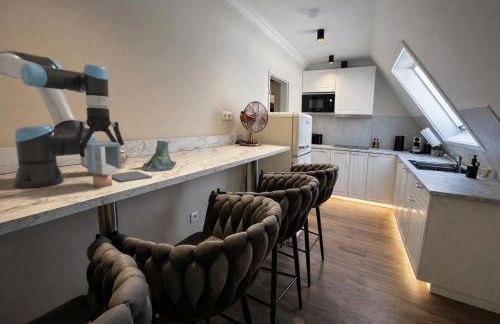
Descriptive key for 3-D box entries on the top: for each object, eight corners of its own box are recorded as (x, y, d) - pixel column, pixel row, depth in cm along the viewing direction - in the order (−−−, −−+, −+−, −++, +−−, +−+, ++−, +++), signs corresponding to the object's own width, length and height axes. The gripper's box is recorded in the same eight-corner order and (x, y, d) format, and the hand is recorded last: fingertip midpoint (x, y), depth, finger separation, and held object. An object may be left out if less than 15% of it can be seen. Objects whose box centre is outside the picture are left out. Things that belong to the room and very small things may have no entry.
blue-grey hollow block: (81, 165, 100) (79, 141, 99) (108, 163, 108) (107, 140, 106) (93, 171, 91) (91, 144, 90) (121, 168, 99) (120, 143, 97)
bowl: (91, 184, 100) (90, 175, 100) (108, 182, 105) (108, 173, 105) (96, 188, 96) (95, 178, 95) (114, 185, 101) (114, 175, 100)
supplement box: (102, 170, 128) (101, 141, 126) (116, 171, 126) (115, 142, 124) (87, 173, 120) (84, 143, 117) (102, 175, 117) (100, 144, 115)
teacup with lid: (114, 169, 132) (113, 147, 130) (103, 167, 135) (102, 146, 134) (133, 166, 142) (132, 146, 140) (122, 164, 146) (122, 144, 144)
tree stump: (131, 170, 133) (135, 137, 134) (156, 172, 152) (159, 144, 153) (160, 172, 127) (163, 137, 129) (182, 174, 146) (184, 144, 148)
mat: (107, 176, 116) (106, 174, 116) (136, 172, 127) (136, 171, 127) (120, 182, 106) (120, 180, 106) (151, 177, 116) (151, 176, 116)
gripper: (65, 105, 85) (69, 168, 89) (131, 109, 102) (133, 162, 105) (59, 105, 90) (64, 165, 93) (124, 109, 107) (126, 159, 110)
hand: (101, 163), depth 99 cm, fingers closed on blue-grey hollow block, 10 cm apart
